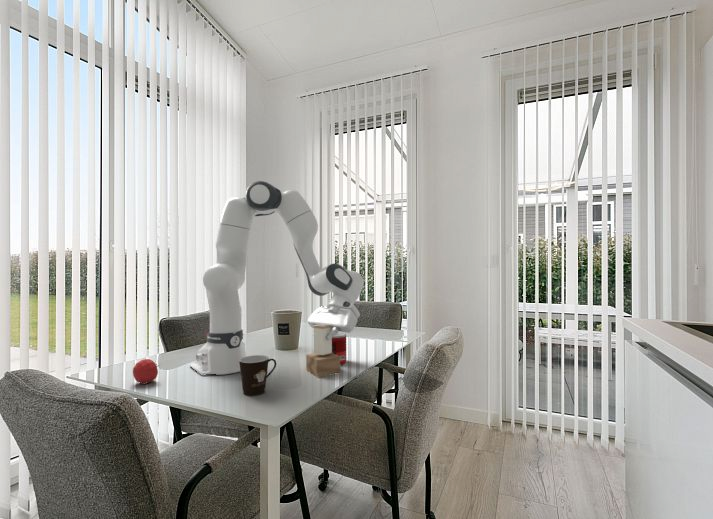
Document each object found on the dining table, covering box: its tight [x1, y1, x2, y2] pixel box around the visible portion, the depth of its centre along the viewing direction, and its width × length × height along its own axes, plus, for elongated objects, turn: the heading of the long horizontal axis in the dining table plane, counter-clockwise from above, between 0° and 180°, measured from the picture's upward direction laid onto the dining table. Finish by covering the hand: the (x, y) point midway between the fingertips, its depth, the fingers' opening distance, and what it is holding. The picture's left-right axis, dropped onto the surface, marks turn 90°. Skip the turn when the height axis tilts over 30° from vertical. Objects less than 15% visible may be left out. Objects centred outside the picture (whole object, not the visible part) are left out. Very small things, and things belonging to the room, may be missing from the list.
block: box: [305, 352, 341, 378], centre depth 128 cm, size 9×9×6 cm
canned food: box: [332, 331, 347, 365], centre depth 140 cm, size 8×8×11 cm
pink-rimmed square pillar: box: [313, 324, 332, 355], centre depth 128 cm, size 5×5×10 cm
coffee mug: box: [239, 354, 277, 397], centre depth 109 cm, size 12×9×10 cm
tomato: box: [132, 358, 160, 384], centre depth 118 cm, size 8×8×8 cm
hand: (321, 338), depth 127 cm, fingers closed on pink-rimmed square pillar, 4 cm apart
